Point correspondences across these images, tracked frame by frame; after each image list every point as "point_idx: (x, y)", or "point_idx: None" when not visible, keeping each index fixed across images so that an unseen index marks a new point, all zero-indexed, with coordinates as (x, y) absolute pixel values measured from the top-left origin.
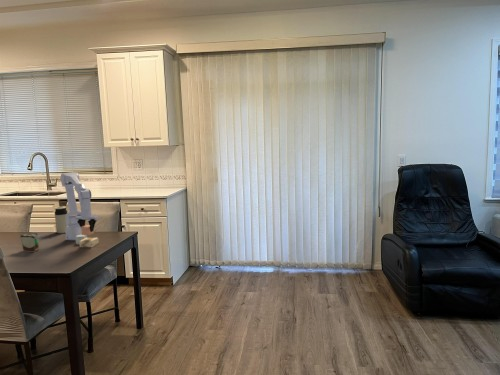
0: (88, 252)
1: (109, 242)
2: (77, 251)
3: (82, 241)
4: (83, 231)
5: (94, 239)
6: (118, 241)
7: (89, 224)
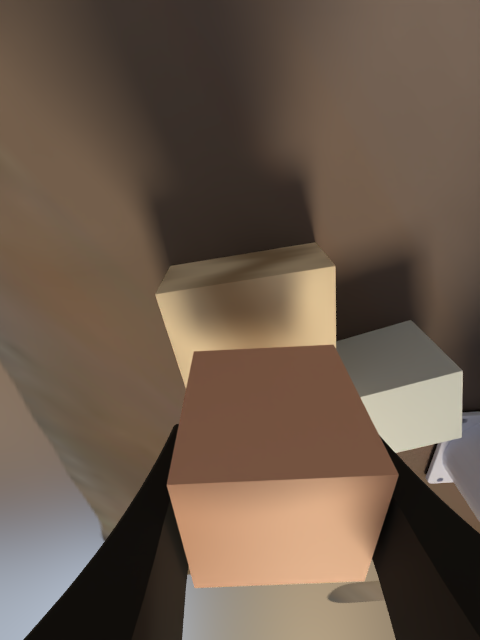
0: (22, 30)
1: (123, 407)
2: (224, 52)
3: (287, 271)
4: (306, 388)
5: (183, 360)
6: (71, 436)
7: (138, 587)
